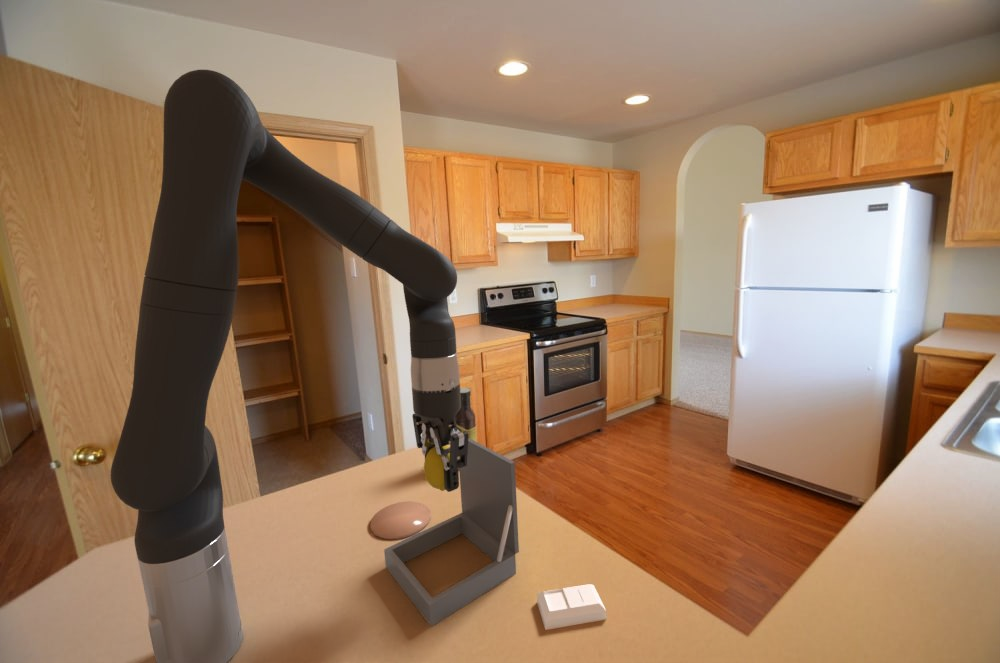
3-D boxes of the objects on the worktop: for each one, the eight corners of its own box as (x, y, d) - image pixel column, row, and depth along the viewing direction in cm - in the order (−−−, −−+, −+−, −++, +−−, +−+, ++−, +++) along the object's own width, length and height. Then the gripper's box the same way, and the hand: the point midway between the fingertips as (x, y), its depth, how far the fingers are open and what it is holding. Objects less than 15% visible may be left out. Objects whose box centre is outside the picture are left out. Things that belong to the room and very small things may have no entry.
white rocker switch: (606, 621, 61) (606, 605, 60) (545, 632, 59) (544, 615, 59) (593, 595, 65) (593, 580, 65) (537, 604, 64) (536, 589, 64)
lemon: (419, 497, 67) (416, 450, 66) (434, 480, 73) (431, 436, 71) (451, 501, 66) (448, 453, 65) (464, 483, 71) (462, 438, 70)
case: (431, 627, 61) (420, 502, 58) (385, 567, 73) (375, 462, 70) (519, 570, 71) (514, 462, 68) (466, 527, 83) (460, 433, 80)
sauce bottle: (450, 460, 112) (445, 388, 109) (472, 455, 115) (468, 384, 111) (459, 470, 106) (453, 395, 103) (481, 465, 109) (477, 390, 106)
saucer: (385, 548, 78) (384, 545, 78) (361, 519, 88) (361, 516, 88) (441, 521, 85) (441, 518, 85) (414, 497, 95) (414, 495, 95)
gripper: (394, 378, 70) (401, 473, 72) (437, 397, 59) (445, 509, 61) (434, 370, 74) (439, 460, 77) (481, 386, 63) (486, 491, 66)
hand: (442, 481), depth 69 cm, fingers closed on lemon, 5 cm apart
